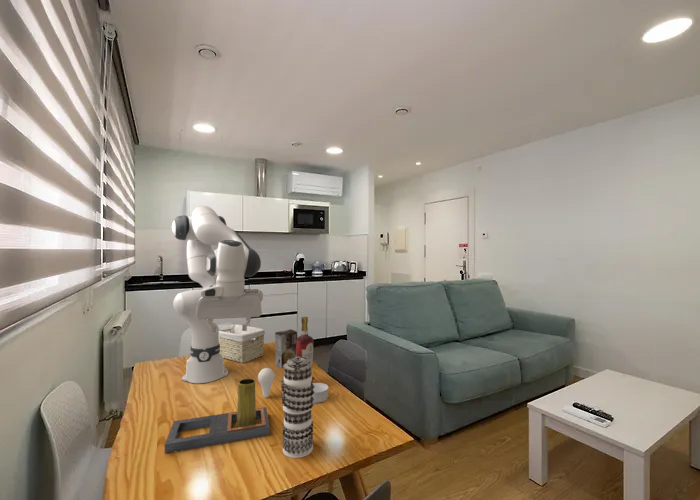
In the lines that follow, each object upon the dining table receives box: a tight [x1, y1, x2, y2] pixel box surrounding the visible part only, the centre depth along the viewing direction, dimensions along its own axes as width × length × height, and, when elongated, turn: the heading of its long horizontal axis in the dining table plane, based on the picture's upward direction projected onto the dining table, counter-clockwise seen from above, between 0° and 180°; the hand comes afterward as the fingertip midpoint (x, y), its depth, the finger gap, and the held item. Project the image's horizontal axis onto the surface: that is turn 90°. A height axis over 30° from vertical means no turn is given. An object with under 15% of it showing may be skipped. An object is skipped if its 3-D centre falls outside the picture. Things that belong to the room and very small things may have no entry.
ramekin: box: [312, 382, 330, 404], centre depth 122 cm, size 9×9×4 cm
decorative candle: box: [280, 357, 315, 459], centre depth 91 cm, size 9×9×25 cm
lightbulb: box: [257, 367, 276, 399], centre depth 123 cm, size 6×6×11 cm
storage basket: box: [218, 323, 266, 364], centre depth 172 cm, size 24×16×15 cm
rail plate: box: [164, 406, 270, 454], centre depth 100 cm, size 13×28×3 cm, turn 109°
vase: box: [235, 377, 257, 428], centre depth 103 cm, size 6×6×14 cm
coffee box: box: [274, 328, 298, 369], centre depth 159 cm, size 9×6×16 cm
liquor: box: [296, 316, 314, 383], centre depth 135 cm, size 7×7×28 cm
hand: (229, 331), depth 107 cm, fingers open, 8 cm apart
